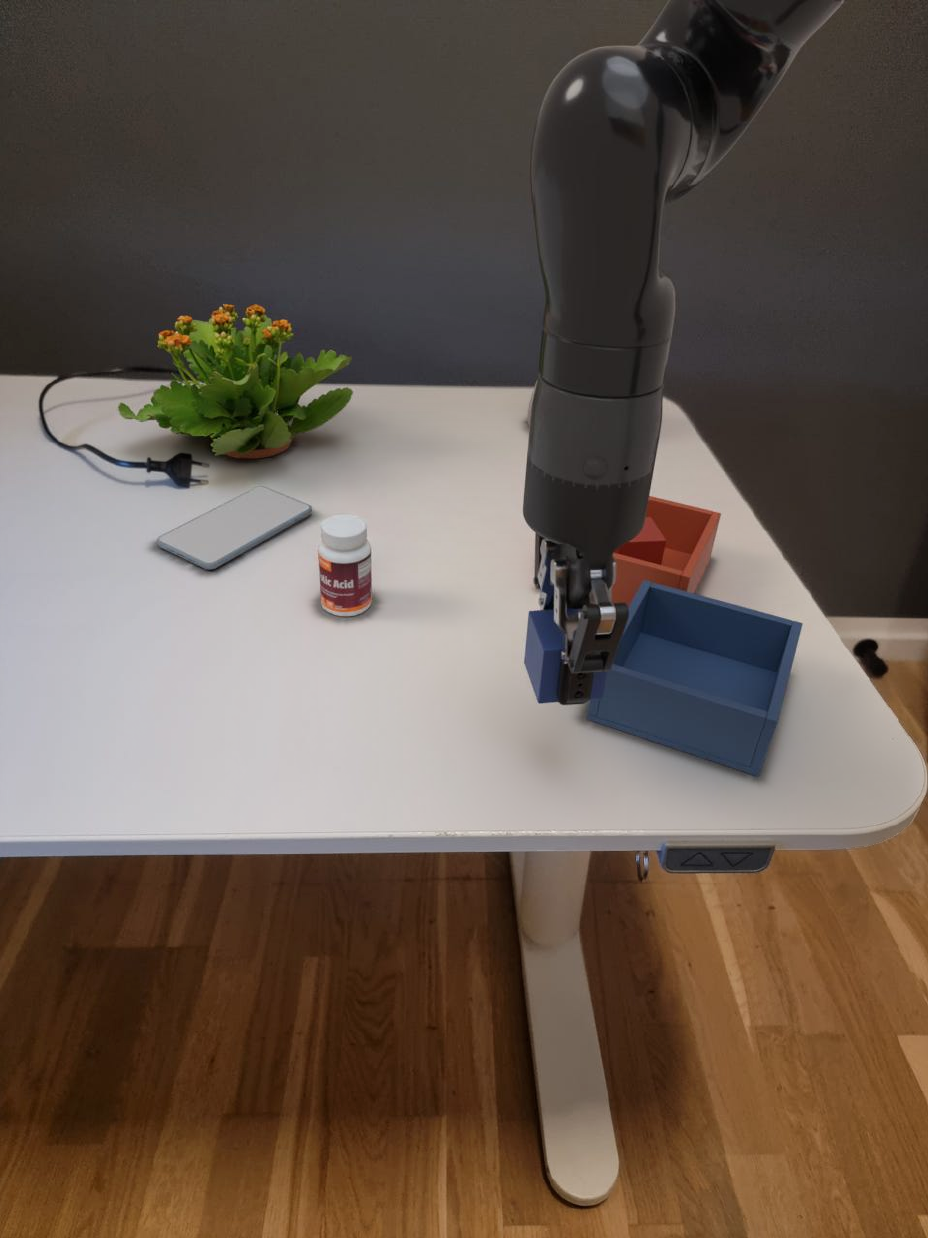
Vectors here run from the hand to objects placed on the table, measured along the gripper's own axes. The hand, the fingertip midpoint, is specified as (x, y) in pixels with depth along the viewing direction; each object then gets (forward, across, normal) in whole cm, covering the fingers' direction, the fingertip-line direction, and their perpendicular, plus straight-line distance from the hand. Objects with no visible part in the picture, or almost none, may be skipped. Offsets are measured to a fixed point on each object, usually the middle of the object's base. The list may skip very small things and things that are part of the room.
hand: (562, 676), depth 61 cm
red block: (+7, +25, -14) cm, 29 cm away
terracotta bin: (+8, +25, -14) cm, 29 cm away
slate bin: (+8, +6, -13) cm, 17 cm away
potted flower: (+7, +59, +24) cm, 64 cm away
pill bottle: (+8, +22, +14) cm, 28 cm away
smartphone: (+7, +37, +25) cm, 45 cm away
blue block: (0, 0, 0) cm, 0 cm away
